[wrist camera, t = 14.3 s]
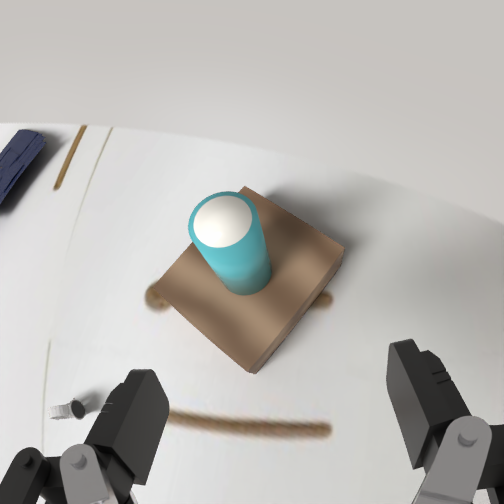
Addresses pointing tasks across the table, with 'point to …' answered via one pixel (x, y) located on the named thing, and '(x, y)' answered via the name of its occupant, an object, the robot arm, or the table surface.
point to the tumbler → (232, 241)
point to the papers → (18, 158)
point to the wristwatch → (67, 411)
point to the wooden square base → (263, 302)
